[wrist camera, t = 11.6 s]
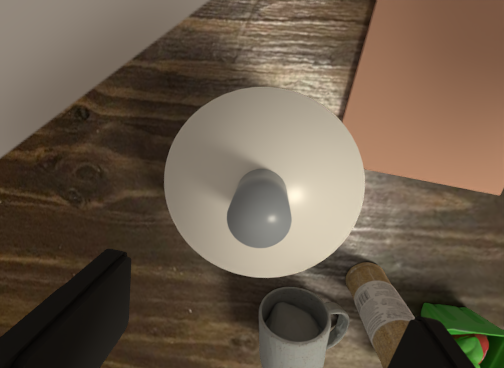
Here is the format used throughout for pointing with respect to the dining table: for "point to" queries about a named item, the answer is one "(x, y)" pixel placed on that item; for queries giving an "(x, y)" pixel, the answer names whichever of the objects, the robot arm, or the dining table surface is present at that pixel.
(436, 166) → the mat
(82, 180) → the dining table surface
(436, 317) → the fruit basket
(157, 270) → the dining table surface
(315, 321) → the ceramic mug
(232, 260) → the lid
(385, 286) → the spice bottle
